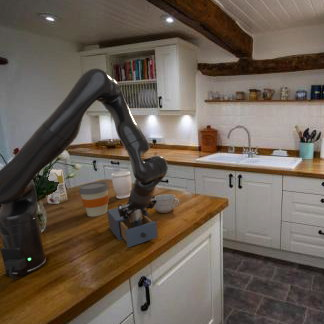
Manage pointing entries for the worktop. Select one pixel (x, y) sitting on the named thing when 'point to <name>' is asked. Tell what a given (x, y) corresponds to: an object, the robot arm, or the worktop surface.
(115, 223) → the cabinet
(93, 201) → the reusable coffee cup
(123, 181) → the jar
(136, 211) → the brushed steel cylinder
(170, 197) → the teacup
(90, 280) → the worktop surface
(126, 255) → the worktop surface
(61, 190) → the juice carton
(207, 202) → the worktop surface
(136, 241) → the drawer
